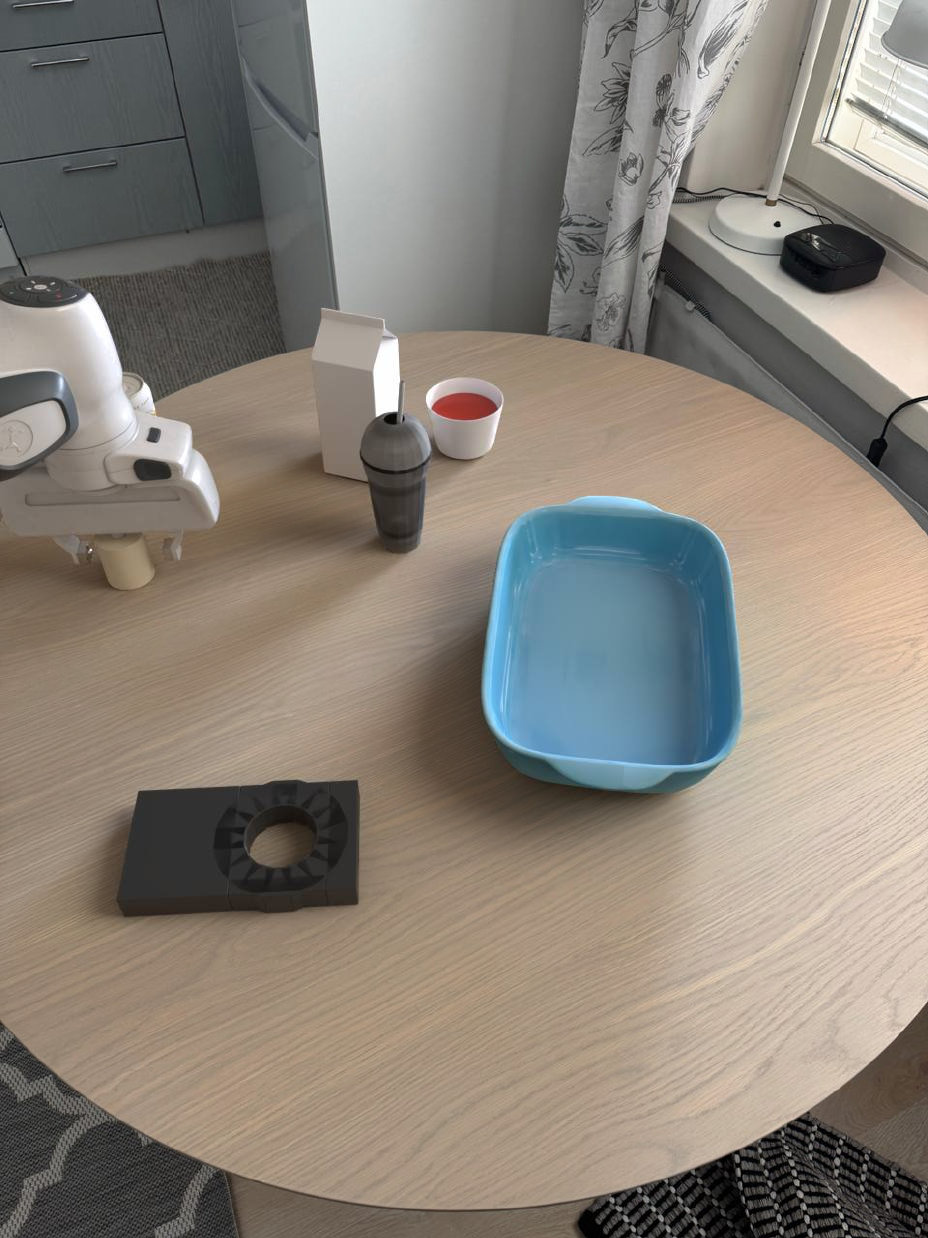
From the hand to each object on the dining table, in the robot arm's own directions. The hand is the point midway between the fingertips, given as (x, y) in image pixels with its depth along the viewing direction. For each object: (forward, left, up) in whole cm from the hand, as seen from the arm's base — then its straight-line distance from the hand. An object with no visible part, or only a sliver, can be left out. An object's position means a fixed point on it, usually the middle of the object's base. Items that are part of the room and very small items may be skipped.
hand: (129, 558), depth 102 cm
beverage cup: (+28, +4, -3) cm, 28 cm away
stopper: (0, 0, -2) cm, 2 cm away
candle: (+36, +21, -3) cm, 41 cm away
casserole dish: (+47, -16, -3) cm, 49 cm away
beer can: (0, +12, -3) cm, 12 cm away
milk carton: (+24, +18, -3) cm, 30 cm away
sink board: (+15, -34, -2) cm, 37 cm away
